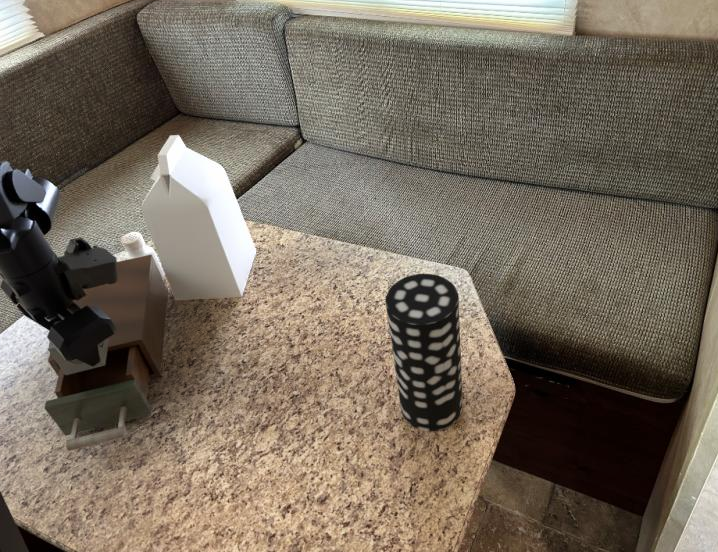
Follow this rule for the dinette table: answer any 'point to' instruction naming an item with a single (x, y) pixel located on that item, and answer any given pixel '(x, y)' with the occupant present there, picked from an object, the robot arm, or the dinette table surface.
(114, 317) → the cabinet
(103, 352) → the dice cube
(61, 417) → the drawer
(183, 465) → the dinette table surface
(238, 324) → the dinette table surface
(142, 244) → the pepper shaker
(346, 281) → the dinette table surface
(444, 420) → the spotted tube
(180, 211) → the milk
